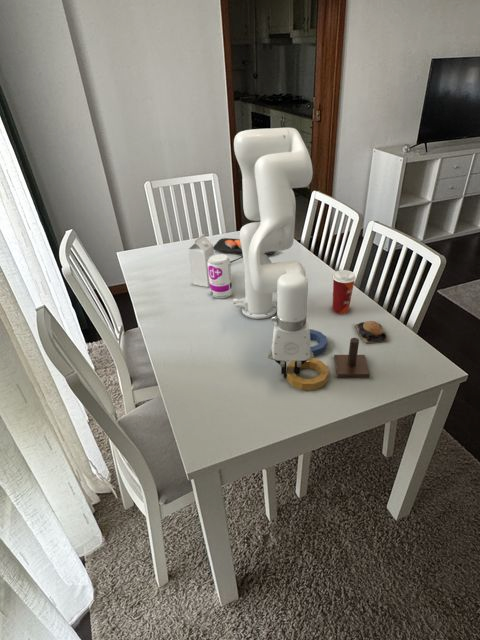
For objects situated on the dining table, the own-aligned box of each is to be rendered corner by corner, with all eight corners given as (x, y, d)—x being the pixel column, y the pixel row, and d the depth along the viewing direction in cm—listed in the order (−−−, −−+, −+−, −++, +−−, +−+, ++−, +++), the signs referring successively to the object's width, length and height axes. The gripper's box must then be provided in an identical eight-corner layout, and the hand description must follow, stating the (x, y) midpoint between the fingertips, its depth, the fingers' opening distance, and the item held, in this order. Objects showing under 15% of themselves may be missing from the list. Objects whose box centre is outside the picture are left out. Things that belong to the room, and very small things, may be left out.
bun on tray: (353, 326, 137) (354, 316, 135) (377, 323, 138) (379, 314, 136) (363, 344, 129) (365, 334, 127) (389, 341, 129) (391, 332, 127)
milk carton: (192, 284, 164) (186, 239, 153) (201, 277, 169) (195, 232, 158) (208, 287, 162) (203, 241, 150) (216, 279, 167) (212, 234, 156)
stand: (337, 378, 116) (340, 349, 110) (333, 358, 123) (336, 331, 117) (369, 378, 115) (374, 349, 110) (363, 358, 123) (368, 331, 117)
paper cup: (351, 316, 142) (355, 280, 134) (329, 314, 143) (332, 278, 135) (351, 305, 148) (356, 269, 140) (330, 303, 149) (333, 268, 141)
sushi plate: (279, 245, 195) (279, 237, 192) (265, 272, 171) (265, 264, 169) (221, 241, 200) (220, 233, 198) (199, 267, 177) (198, 259, 175)
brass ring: (287, 390, 112) (287, 383, 111) (286, 364, 121) (286, 357, 120) (329, 390, 112) (330, 383, 110) (325, 364, 121) (326, 357, 119)
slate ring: (289, 357, 124) (289, 350, 123) (288, 335, 133) (288, 329, 132) (327, 357, 124) (328, 350, 122) (324, 335, 133) (325, 329, 131)
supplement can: (224, 301, 152) (220, 264, 144) (206, 296, 156) (202, 259, 147) (236, 292, 158) (234, 255, 149) (219, 287, 162) (216, 251, 153)
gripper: (259, 328, 103) (261, 383, 114) (324, 328, 102) (319, 384, 113) (261, 313, 109) (262, 367, 120) (321, 313, 108) (317, 367, 119)
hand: (290, 374), depth 116 cm, fingers closed on brass ring, 2 cm apart
